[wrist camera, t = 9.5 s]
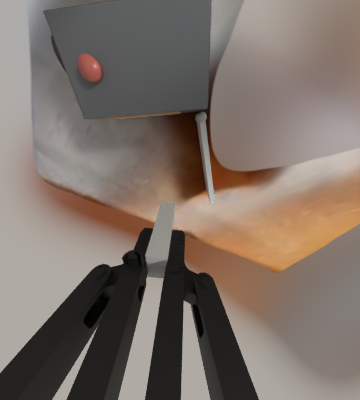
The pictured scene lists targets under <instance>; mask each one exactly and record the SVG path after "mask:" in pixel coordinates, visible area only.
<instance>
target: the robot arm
mask: <svg viewBox="0 0 360 400" xmlns="http://www.w3.org/2000/svg"><path fill="white" fill-rule="evenodd" d="M174 221H175V203H170V202H162V203H161V206H160V209H159V213H158V216H157V219H156V222H155V226H154V229H152V228H144V229H143V230H142V232H141V233H140V235H139V238H138V241H137V243H136V245H135V248H134V250H131V251H129V252H127V253H126V254H124V256H123V257H122V259H123V262H124V264H122V265H119V266H114V267H110V266H108V265H106V264H102V265H99V266H97V267H95V268H94V269H93V270H92V271H91V272H90V273H89V274H88V275H87V276H86V277H85V278H84V280H83V281H82V282H81V283H80V284H79V285H78V286H77V287H76V289H75V290H74V291H73V292H72V293H71V294H70V295H69V297H68V298H67V299H66V300H65V301H64V302H63V303H62V304H61V305H60V307H59V308H58V309H57V310H56V311H55V312H54V313H53V315H52V316H51V317H50V318H49V319H48V320H47V321H46V322H45V323H44V325H43V326H42V327H41V328H40V329H39V330H38V331H37V332H36V334H35V335H34V336H33V337H32V338H31V339H30V340H29V341H28V343H27V344H26V345H25V346H24V347H23V348H22V349H21V350H20V352H19V353H18V354H17V355H16V356H15V357H14V359H12V361H11V362H10V363H9V364H8V365H7V366H6V367H5V368H4V370H3V371H2V372H1V373H0V400H52V399H53V397H54V396H55V394H56V392H57V390H58V389H59V387H60V386H61V384H62V383H63V381H64V379H65V378H66V376H67V374H68V373H69V371H70V370H71V368H72V366H73V365H74V363H75V362H76V360H77V358H78V357H79V355H80V354H81V352H82V350H83V349H84V347H85V345H86V344H87V342H88V341H89V339H90V338H91V336H92V334H93V333H94V331H95V329H96V328H97V326H98V328H97V330H96V332H95V335H94V337H93V339H92V342H91V344H90V346H89V349H88V351H87V354H86V356H85V358H84V360H83V363H82V365H81V368H80V370H79V372H78V374H77V377H76V379H75V381H74V384H73V386H72V388H71V391H70V393H69V395H68V398H67V400H118V397H119V393H120V389H121V385H122V381H123V377H124V372H125V368H126V365H127V361H128V356H129V352H130V348H131V344H132V340H133V336H134V332H135V328H136V324H137V320H138V316H139V312H140V308H141V303H142V300H143V295H144V291H145V288H146V278H147V274H148V277H156V278H164V281H163V287H162V293H161V300H160V306H159V313H158V319H157V326H156V332H155V339H154V346H153V352H152V358H151V365H150V371H149V378H148V385H147V391H146V397H145V400H181V372H182V336H183V301H186V302H188V303H190V304H191V308H192V313H193V318H194V323H195V327H196V332H197V337H198V342H199V346H200V351H201V356H202V361H203V366H204V370H205V375H206V380H207V385H208V390H209V394H210V399H211V400H259V399H258V396H257V393H256V391H255V388H254V386H253V383H252V380H251V378H250V375H249V372H248V370H247V367H246V365H245V362H244V359H243V356H242V354H241V351H240V349H239V346H238V343H237V341H236V338H235V335H234V333H233V330H232V328H231V325H230V322H229V319H228V317H227V314H226V311H225V309H224V306H223V304H222V301H221V298H220V296H219V293H218V290H217V288H216V285H215V282H214V280H213V278H212V277H211V276H210V275H209V274H207V273H199V274H196V273H194V272H192V271H190V270H189V269H187V267H186V266H185V263H184V248H185V234H184V232H183V231H179V230H173V229H174Z"/></svg>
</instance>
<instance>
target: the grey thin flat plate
mask: <svg viewBox="0 0 360 400" xmlns="http://www.w3.org/2000/svg"><path fill="white" fill-rule="evenodd" d="M206 119H207V115H206V113H205V112H200V113H198V114H196V115H195V120H196V121H197V128H198V135H199V142H200V149H201V156H202V164H203V171H204V178H205V185H206V191H207V194H208V197H209V201H210V204H215V201H214V198H215V197H216V193H215V190H214V188H213V184H212V175H211V166H210V157H209V148H208V139H207V130H206Z"/></svg>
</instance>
